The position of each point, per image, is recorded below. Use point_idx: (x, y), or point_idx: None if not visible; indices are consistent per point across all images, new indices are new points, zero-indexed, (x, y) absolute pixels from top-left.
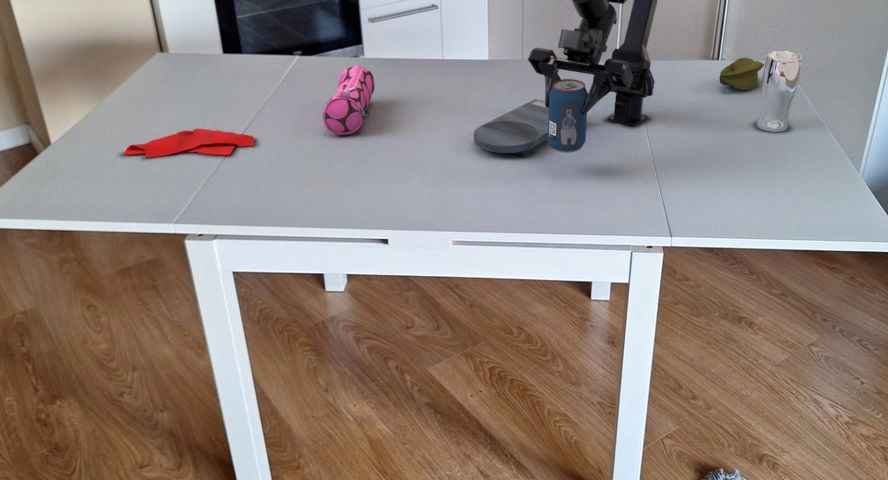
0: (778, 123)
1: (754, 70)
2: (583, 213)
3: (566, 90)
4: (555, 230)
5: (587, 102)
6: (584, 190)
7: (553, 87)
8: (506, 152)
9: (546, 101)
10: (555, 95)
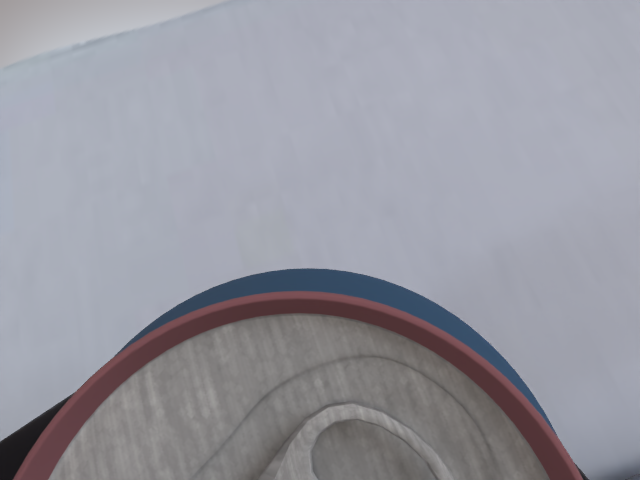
0: None
1: None
2: (185, 133)
3: (260, 294)
4: (239, 14)
5: (44, 426)
6: None
7: (540, 427)
8: (634, 477)
9: None
10: (429, 307)
